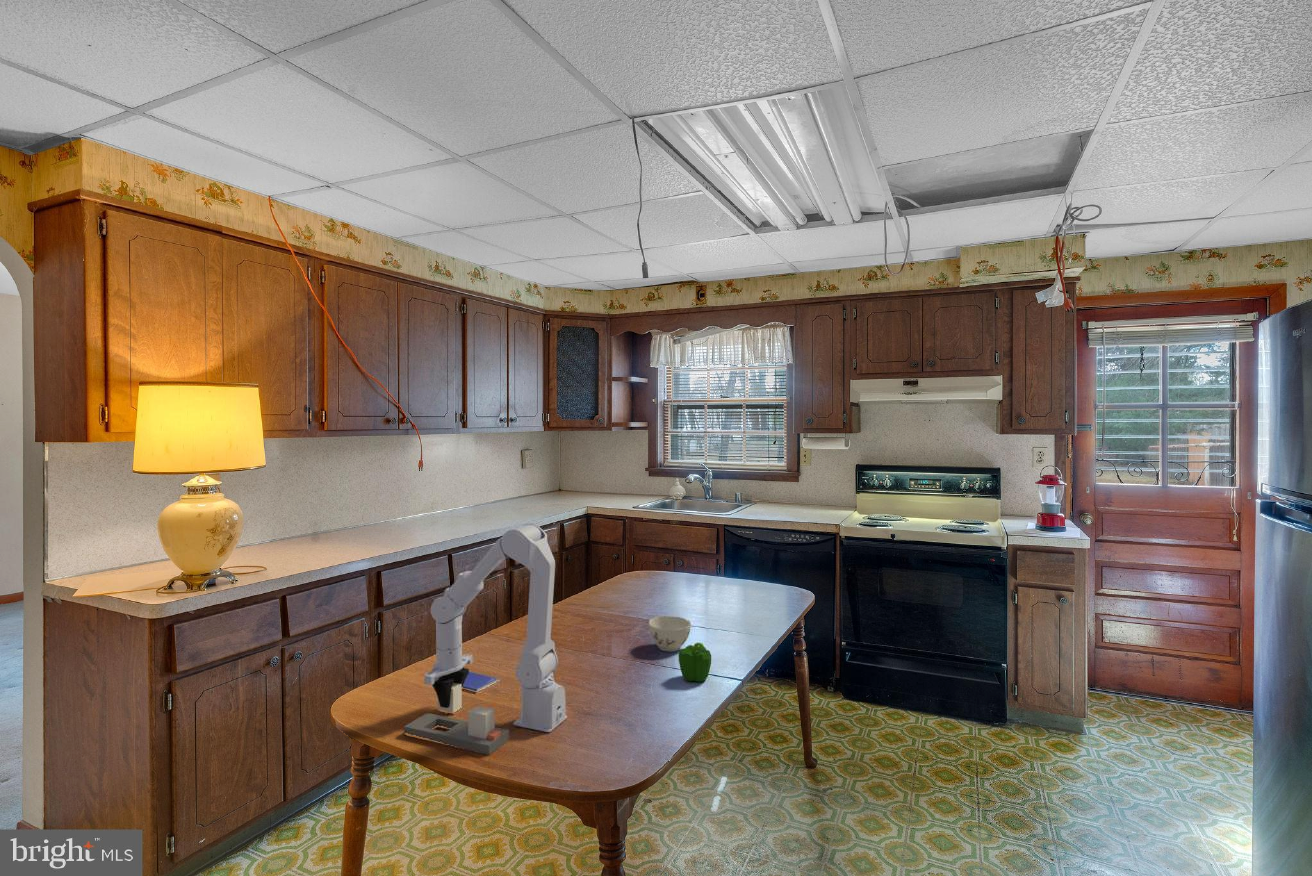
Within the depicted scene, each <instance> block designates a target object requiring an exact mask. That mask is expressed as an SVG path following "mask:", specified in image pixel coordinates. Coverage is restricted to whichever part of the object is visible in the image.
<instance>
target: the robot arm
mask: <svg viewBox="0 0 1312 876" xmlns="http://www.w3.org/2000/svg"><path fill="white" fill-rule="evenodd" d="M508 558H510V559H512V560H514V561H516V562H518V563H519V564H521V565H523V566H524V567H525V568H526V569H527V570H528V571H529V572H530V576H529V577H530V578H529V592H528V606H527V607H528V610H527V622H526V623H527V626H526V641H525V643H524V645H523V648H522V651H521V653H520V660H519V662H518V664H517V666H516V668H515V677H516V679H517V681H518V682H519V684H520V691H521V692H520V698H521V699H520V704H521V705H520V706H521V708H520V709H521V710H520V713H521V714H520V715H521V716H520V717H519V718H518V719H516V720H515V721H513V723H512V724H513V726H516V727H521V728H527V729H531V730H535V731H540V732H545V733H551V732H552V731H553V730H554V729H555V728H557V727H558V726H559V725H560V724H561V723H563V722H564V721H565V720H566V719H567V718H568V715H566V714H567V713H566V690H565V687H564V686H563V685H562V684H561V685H560V684H558V682H555V679H554V678H555V677H554V671H555V669H557V666H558V663H559V662H558V661H559V659H558V655H557V653H556V643H555V642H554V640H552V639H551V638H552V637H551V634H552V624H553V623H552V620H553V608H554V607H553V603H554V590H555V575H556V574H555V573H556V560H555V558H554V555H553V553H552V550H551V547H550V545H549V543H548V534H547V533H546V532H545V531H544V530H543V529H542V528H541V527H540V526H539V525H537V524H535V523H526V524H524V525H523V526H520V527H517V528H514V529H510V530H509V529H508V530H507V531H506V532H505V533H504V534H503V536H501V537H500V538H498V539H497V540H496V542H494V544H493V545H492V546H491V548H490V549H489V550H488V551H487V552H486V553H485V555H484V556H483V557H482V559H481V560H480V561H479V562H478V563H477V565H476V566H475V567H474V568H473V569H472V570H466V571H464V572H461V573H458V574H457V575H456V576H455V578H456V579H457V580H455V581H454V583H453V584H452V585H451V586H450V587H447V588H446V589H445V590H444V591H443V592H444V595H443V596H440V597H436V598H435V599H434V600H433V602H432V603H431V605H430V615H431V616H432V618H433V619H434V621H435V646H436V647H435V648H436V649H435V653H436V661H435V662H434V663H433V668H432V669H430V671H428V672H427V673H426V674H425V675H424V676H423V677H424V680H423V681H424V685H429V686H432V687H433V689H434V691H435V694H436V696H437V701H438V700H439V703H440V707H444V708H448V707H449V705H450V694H451V688H452V685H453V683H457V684H462V687H463V684H464V682H465V679H466V677H467V675H468V674H469V672H470V669H469V668H466V667H465V666H466V665H471V664H473V657H474V656H473V654H469V653H465V654H463V635H462V633H463V630H462V629H463V628H462V627H463V624H462V622H463V615H464V614H465V612H466V610H467V608H468V607H467V606H468V605H469V604H470V603H471V602H472V601H473V600H474V599H475V598H476V597H477V596H478V595H479V593H480V592H482V590H483V589H484V580H485V579H486V578H487V577H488V576H489V575H490V574H491V573H492V572H493V571H494V570H495V569H496V568H497V567H498V566H499V565H500V564H501V563H502V562H503V561H504V560H506V559H508Z"/></svg>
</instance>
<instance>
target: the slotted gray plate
mask: <svg viewBox="0 0 1312 876" xmlns="http://www.w3.org/2000/svg"><path fill="white" fill-rule="evenodd" d="M467 716H468V717H467V721H466V720H462V719H457V718H454V717H453V718H452V717H448V716H443V715H438V714H434V713H429V712H426V713H425V714H422V715H420V716H419V717H418V718H416V719H415V720H412V721H411V722H409V723H408V724H406V725H405V726H404V725H403V729H404V730H403V732H404V733H408V734H411V735H416V736H419V737H423V738H428V739H430V740H435V741H438V742H442V743H444V744H449V745H453V746H457V747H460V748H464V749H467V750H466V751H468V750H470V751H469V752H473V751H476V752H475V753H477V752H479V753H478V754H481V753H482V755H486V756H490V755H492V754H493V753H494V752H495V751H497V750H498V749H499V748H501V747H502V746H504V744H506V743H507V742H509V740H510V729H505V728H499V727H496V725H495V708H490V707H485V706H480V705H476V706H475V707H473V708H471V709H470V710H468V711H467ZM437 725H439V726H444V727H447V728H451V729H449V730H446V731H442V730H437V729H435V730H434V729H432V728H434V727H435V726H437ZM505 742H506V743H505ZM500 746H501V747H500ZM460 748H459V749H460ZM464 749H463V750H464ZM496 749H497V750H496ZM493 751H494V752H493ZM491 753H492V754H491Z"/></svg>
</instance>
